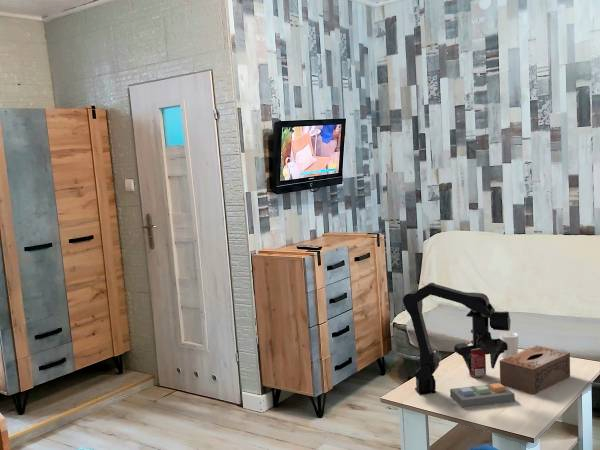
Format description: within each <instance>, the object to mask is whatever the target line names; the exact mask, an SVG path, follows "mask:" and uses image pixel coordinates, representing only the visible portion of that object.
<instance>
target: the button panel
mask: <svg viewBox="0 0 600 450" xmlns="http://www.w3.org/2000/svg"><path fill="white" fill-rule="evenodd" d="M499 383H500V382H499ZM500 384H501V383H500ZM484 385H485V386H486V387H488V388H489V383H488V384H484ZM501 385H502V384H501ZM474 386H475V385H472V386H469V387H470V388H471V389H472V390H474ZM504 387H505V391H502V392H493V391H491V390H490V389H489V393H486V394H478V393H476V392H475V391H474V395H469V396H462V395H461V394H460V393H459V388H460V387H454V388H450V389H449V394H450V396H449V397H450V398H451V399H452V400H453V401H455V403H456V404H458V406H459V407H461V408H462V409H467V408H473V407H474V408H475V407H481V406H482V407H483V406H490V405H496V404H497V405H498V404H506V403H514V402H516V401H515V399H516V398H515V392H513V391H511V389H509V388H508V387H506V386H504Z"/></svg>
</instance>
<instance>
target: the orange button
mask: <svg viewBox="0 0 600 450" xmlns="http://www.w3.org/2000/svg"><path fill="white" fill-rule="evenodd" d="M488 384H489V383H488ZM505 387H506V386H505ZM505 387H504V386H503V385H501V384H500V382H497V383H495V382H494V383H490V384H489V389H490V390H491V391H493V392H502V391H505Z"/></svg>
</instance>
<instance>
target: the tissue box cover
mask: <svg viewBox="0 0 600 450" xmlns="http://www.w3.org/2000/svg"><path fill="white" fill-rule="evenodd" d="M570 377H571V352H567V351H565V350H564V351H563V350H559V349H554V348H550V347H545V346H541V345H534V346H531V347H529V348H527V349H525V350H522V351H518V353H517V354H514V355H512V356H510V357H507V358H503V359H500V360H499V381H500V382H499V383H501V384H502V385H503V386H505V387H506V388H510V389H514V390H517V391H521V392H524V393H527V394H530V395H536V394H538V393H540V392H542V391H544V390H546V389H549V388H551V387H553V386H554V385H556V384H558V383H560V382H563V381H564V380H566V379H569V378H570Z"/></svg>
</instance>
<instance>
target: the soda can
mask: <svg viewBox="0 0 600 450" xmlns="http://www.w3.org/2000/svg"><path fill="white" fill-rule="evenodd" d="M476 348H477V347H476ZM470 354H471V355H472V357H471V367H472V368H471V371H469V370H468V374H469V375H470V376H471V377H473V378H483V377H485V376H486V375H487V365H486V364H487V361H486V354H484V353H483V351H482V350H474V351H471V353H470Z"/></svg>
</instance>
